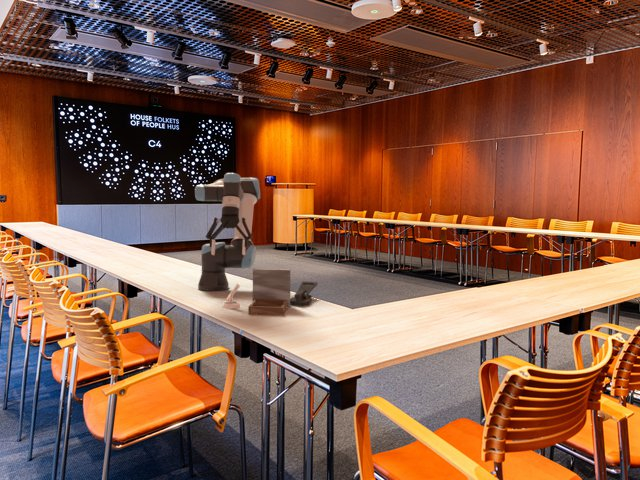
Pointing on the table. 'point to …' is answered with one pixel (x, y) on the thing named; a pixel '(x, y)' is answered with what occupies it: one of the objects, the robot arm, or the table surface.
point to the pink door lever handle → (231, 299)
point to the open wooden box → (270, 291)
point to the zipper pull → (303, 294)
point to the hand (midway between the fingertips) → (228, 254)
